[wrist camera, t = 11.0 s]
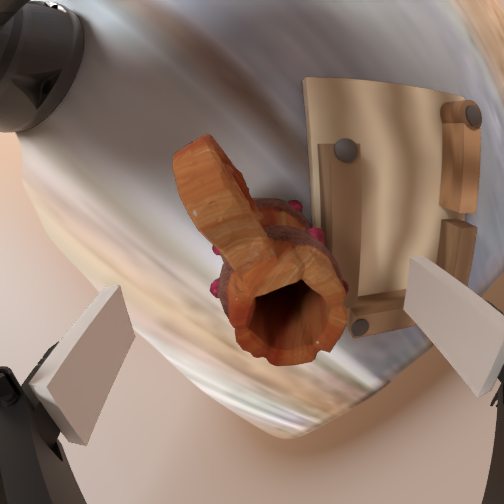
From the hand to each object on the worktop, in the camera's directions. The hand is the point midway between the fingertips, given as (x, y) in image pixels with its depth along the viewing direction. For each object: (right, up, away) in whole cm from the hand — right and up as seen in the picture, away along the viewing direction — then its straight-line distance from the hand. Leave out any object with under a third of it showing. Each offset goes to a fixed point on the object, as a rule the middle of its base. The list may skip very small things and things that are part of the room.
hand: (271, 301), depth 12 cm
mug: (-1, +6, +15) cm, 16 cm away
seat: (+14, +7, +15) cm, 21 cm away
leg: (+19, +12, +11) cm, 26 cm away
